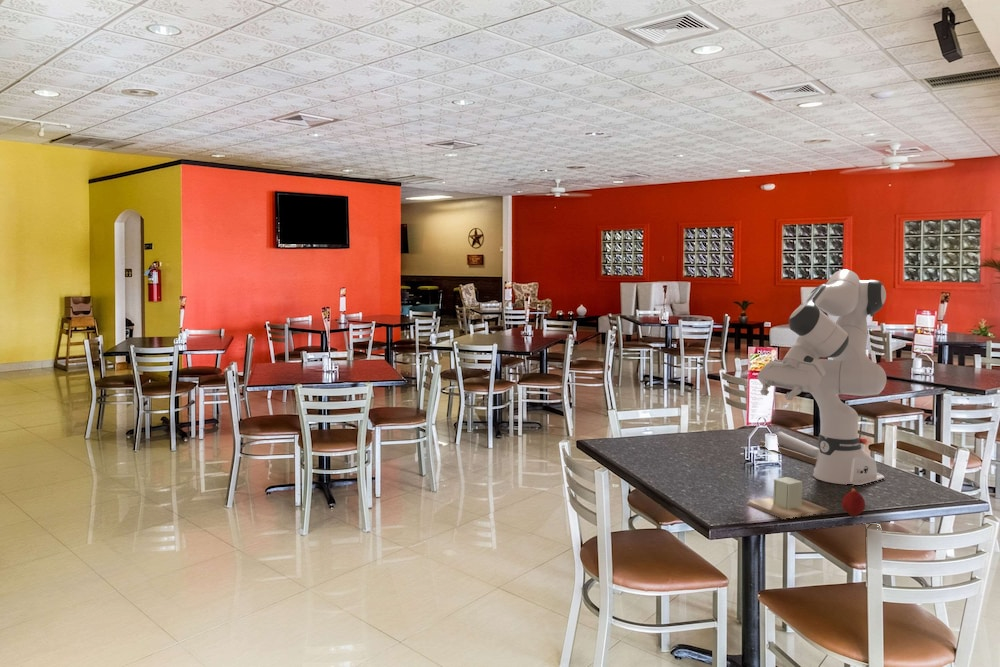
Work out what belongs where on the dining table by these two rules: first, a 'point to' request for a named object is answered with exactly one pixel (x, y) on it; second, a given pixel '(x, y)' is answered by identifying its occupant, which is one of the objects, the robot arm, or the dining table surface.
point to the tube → (796, 445)
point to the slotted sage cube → (787, 492)
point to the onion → (853, 503)
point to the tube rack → (795, 454)
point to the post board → (785, 513)
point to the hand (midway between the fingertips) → (775, 396)
